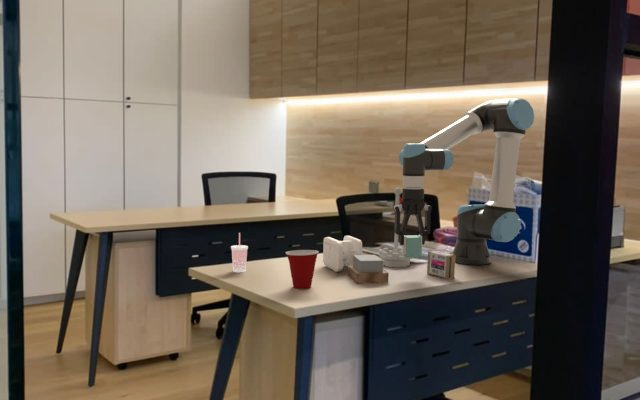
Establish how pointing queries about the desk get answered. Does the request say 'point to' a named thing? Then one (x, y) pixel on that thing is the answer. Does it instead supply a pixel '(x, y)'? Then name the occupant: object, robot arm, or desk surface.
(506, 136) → the robot arm
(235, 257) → the beverage cup
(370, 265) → the grey slab
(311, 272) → the plastic cup
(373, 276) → the walnut slab
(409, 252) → the teal block
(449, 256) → the ink box
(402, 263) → the flag stand
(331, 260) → the cable organizer
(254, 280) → the desk surface
